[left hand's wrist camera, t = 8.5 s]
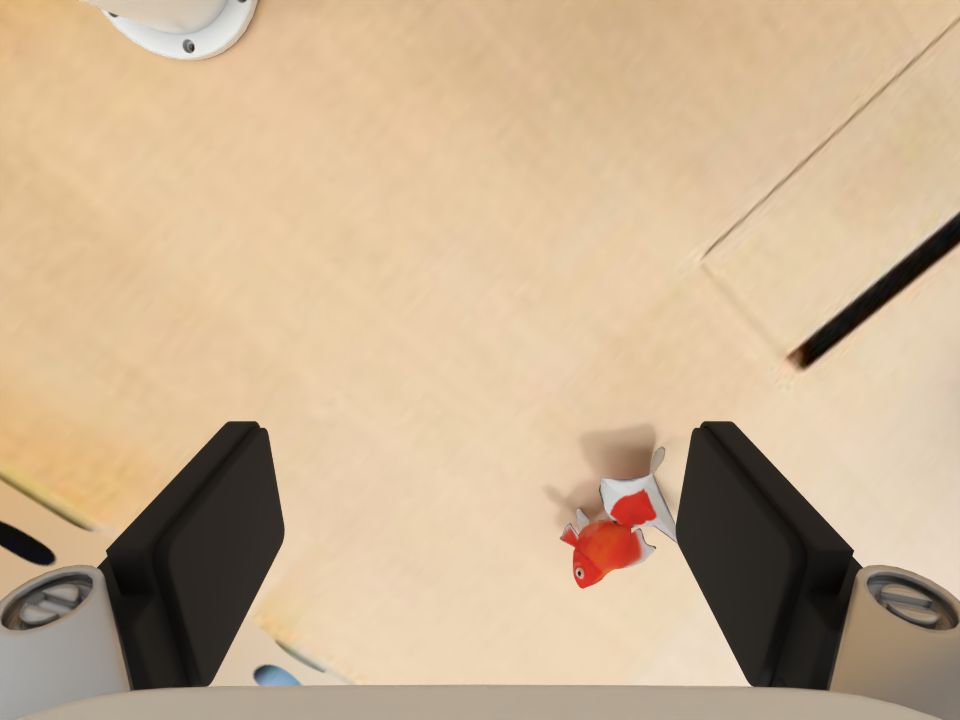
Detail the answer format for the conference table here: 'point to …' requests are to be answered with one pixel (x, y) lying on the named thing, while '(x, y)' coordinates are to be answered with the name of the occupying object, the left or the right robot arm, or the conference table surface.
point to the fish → (619, 527)
